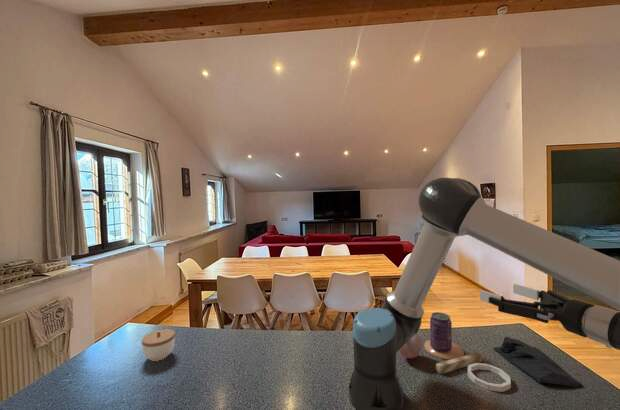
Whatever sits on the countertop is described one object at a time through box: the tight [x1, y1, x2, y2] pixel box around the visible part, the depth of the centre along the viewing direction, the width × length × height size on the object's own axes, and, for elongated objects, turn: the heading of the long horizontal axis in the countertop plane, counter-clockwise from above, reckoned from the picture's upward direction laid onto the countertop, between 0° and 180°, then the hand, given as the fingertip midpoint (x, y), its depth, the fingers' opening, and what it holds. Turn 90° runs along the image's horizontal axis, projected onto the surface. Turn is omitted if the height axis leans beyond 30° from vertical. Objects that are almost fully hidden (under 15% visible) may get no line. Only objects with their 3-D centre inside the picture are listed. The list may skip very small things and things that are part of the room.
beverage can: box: [429, 311, 453, 352], centre depth 101 cm, size 7×7×12 cm
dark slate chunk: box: [493, 336, 584, 388], centre depth 91 cm, size 15×22×5 cm
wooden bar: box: [435, 351, 483, 375], centre depth 92 cm, size 18×2×2 cm, turn 110°
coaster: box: [424, 339, 465, 361], centre depth 102 cm, size 13×13×1 cm
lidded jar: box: [141, 328, 176, 362], centre depth 102 cm, size 11×11×9 cm
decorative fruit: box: [398, 333, 423, 360], centre depth 97 cm, size 9×8×10 cm
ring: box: [466, 362, 512, 393], centre depth 85 cm, size 11×12×2 cm
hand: (497, 291), depth 82 cm, fingers open, 13 cm apart
